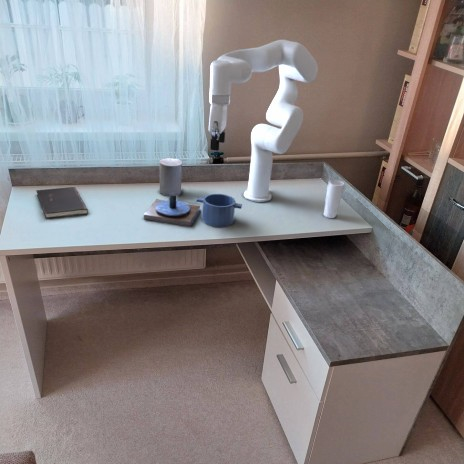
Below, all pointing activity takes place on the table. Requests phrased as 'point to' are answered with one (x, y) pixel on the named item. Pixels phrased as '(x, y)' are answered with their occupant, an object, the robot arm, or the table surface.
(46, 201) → the hardcover book
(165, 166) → the pillar candle
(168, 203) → the lid
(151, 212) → the board
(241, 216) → the table surface
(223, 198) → the pot
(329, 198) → the white cylinder
